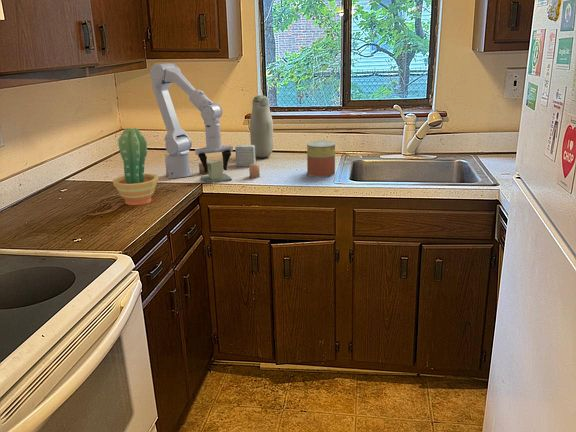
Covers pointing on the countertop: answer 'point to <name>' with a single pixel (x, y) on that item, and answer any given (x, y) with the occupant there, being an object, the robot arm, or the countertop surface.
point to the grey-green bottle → (261, 127)
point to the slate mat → (209, 180)
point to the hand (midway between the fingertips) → (215, 170)
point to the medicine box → (245, 155)
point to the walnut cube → (201, 169)
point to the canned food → (321, 158)
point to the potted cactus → (134, 169)
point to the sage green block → (215, 170)
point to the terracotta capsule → (254, 170)
